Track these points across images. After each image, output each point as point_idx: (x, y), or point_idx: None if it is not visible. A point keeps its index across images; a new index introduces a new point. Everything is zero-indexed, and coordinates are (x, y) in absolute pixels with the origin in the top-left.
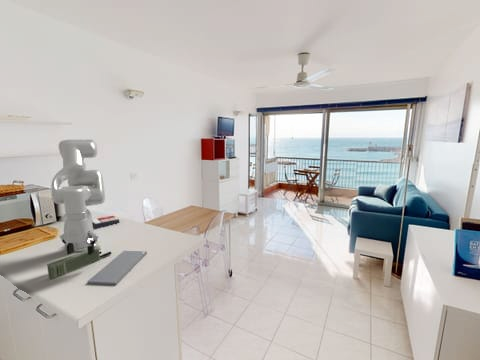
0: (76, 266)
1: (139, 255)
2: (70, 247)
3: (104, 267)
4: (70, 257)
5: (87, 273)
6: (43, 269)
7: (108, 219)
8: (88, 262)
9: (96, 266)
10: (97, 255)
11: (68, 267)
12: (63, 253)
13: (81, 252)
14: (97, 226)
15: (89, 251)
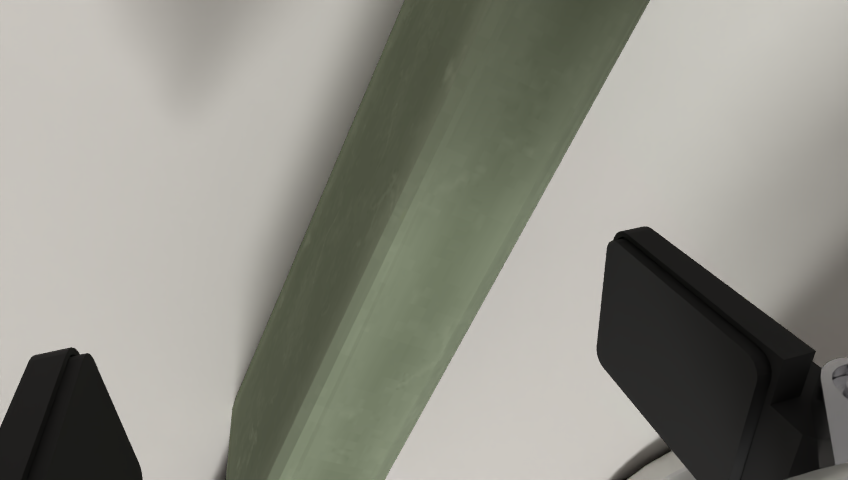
0: (361, 131)
1: None
2: (698, 382)
3: None
4: (475, 135)
5: (11, 37)
6: (843, 7)
7: None
8: (288, 293)
9: (94, 266)
10: (236, 455)
11: (423, 12)
12: None
13: (407, 378)
14: None
15: (15, 435)
